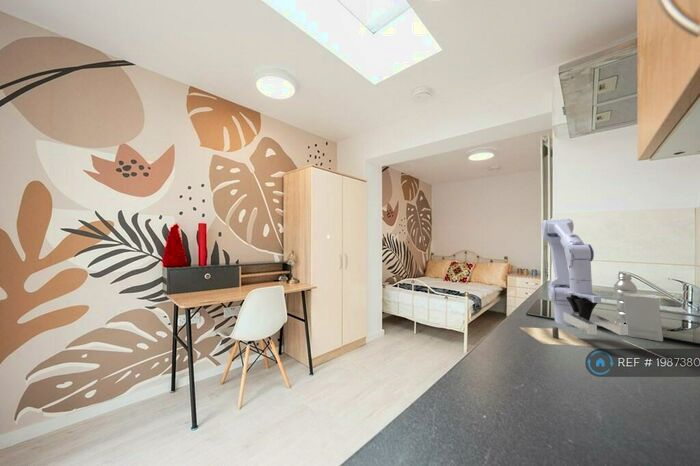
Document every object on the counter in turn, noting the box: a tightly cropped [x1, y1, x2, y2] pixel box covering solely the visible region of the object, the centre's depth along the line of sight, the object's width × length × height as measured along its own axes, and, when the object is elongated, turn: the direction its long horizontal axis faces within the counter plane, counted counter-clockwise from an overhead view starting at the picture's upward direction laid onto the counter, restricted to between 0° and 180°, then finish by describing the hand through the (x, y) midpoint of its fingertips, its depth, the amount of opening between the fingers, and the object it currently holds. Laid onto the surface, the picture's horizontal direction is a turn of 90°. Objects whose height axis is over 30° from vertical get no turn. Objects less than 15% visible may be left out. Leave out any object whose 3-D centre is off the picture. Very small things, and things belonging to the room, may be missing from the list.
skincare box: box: [623, 293, 664, 342], centre depth 89 cm, size 8×6×15 cm
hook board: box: [519, 326, 593, 347], centre depth 88 cm, size 14×16×5 cm
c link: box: [563, 311, 628, 336], centre depth 81 cm, size 10×12×3 cm
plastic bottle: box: [613, 273, 638, 322], centre depth 102 cm, size 6×7×20 cm
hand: (582, 319), depth 86 cm, fingers closed on c link, 2 cm apart
